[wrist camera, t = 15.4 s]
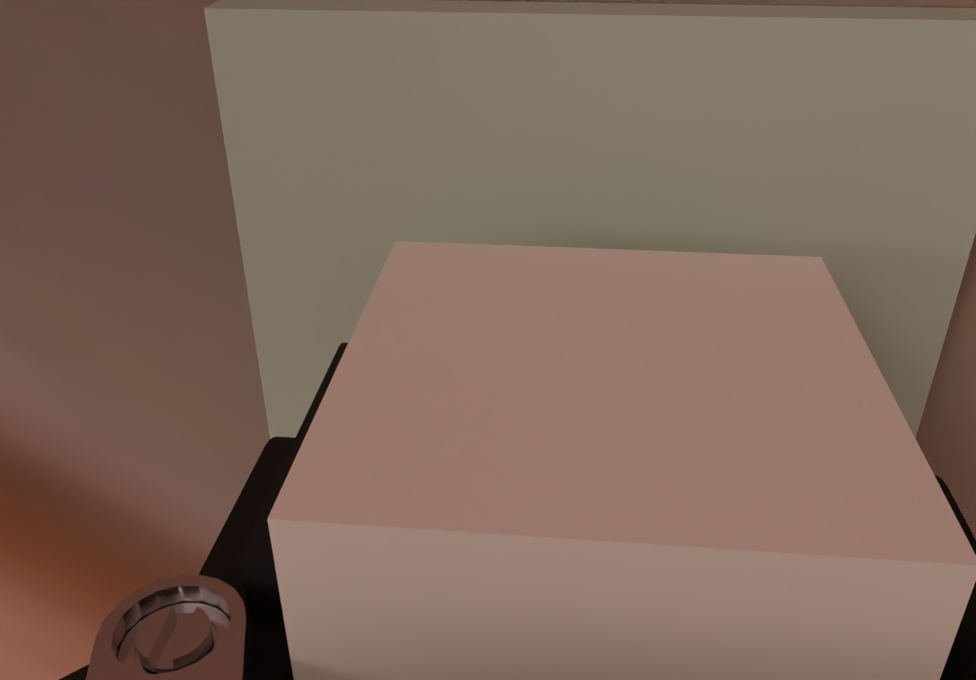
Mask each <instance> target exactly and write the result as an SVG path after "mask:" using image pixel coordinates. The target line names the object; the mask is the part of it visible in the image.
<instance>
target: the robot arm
mask: <svg viewBox="0 0 976 680" xmlns="http://www.w3.org/2000/svg"><path fill="white" fill-rule="evenodd" d="M347 345H348V343H345V342H344V343H341V344H340V346H339V347H338V349H337V351H336V353H335V356H334V358H333V360H332V362H331V364H330V366H329V368H328V370H327V372H326V374H325V377H324V379H323V381H322V383H321V385H320V387H319V389H318V391H317V393H316V396H315V398H314V400H313V402H312V404H311V406H310V408H309V410H308V412H307V414H306V417H305V419H304V421H303V423H302V425H301V427H300V429H299V431H298V433H297V436H296V438H294V437H277V436H275V437H273V438H271V439H270V440H269V441H268V443H267V444H266V446H265V447H264V449H263V451H262V453H261V455H260V457H259V459H258V461H257V463H256V465H255V467H254V469H253V471H252V472H251V474H250V476H249V478H248V480H247V482H246V484H245V486H244V488H243V490H242V492H241V494H240V496H239V498H238V500H237V502H236V503H235V505H234V507H233V509H232V511H231V513H230V515H229V517H228V519H227V521H226V523H225V525H224V527H223V529H222V531H221V532H220V534H219V536H218V538H217V540H216V542H215V544H214V546H213V548H212V550H211V552H210V554H209V556H208V558H207V560H206V561H205V563H204V565H203V567H202V569H201V571H200V573H199V575H179V576H175V577H171V578H167V579H162V580H158V581H156V582H153V583H151V584H149V585H147V586H145V587H142V588H140V589H138V590H136V591H135V592H133V593H132V594H130V595H129V596H128V597H126V598H125V599H123V600H122V601H121V602H119V603H118V604H117V605H116V606H115V607H114V609H113V610H112V611H111V612H110V613H109V614H108V615H107V617H106V618H105V619H104V620H103V622H102V625H101V627H100V629H99V631H98V634H97V636H96V639H95V643H94V647H93V651H92V655H91V659H90V663H89V665H87V666H85V667H83V668H81V669H79V670H77V671H75V672H73V673H71V674H69V675H67V676H65V677H63V678H61V679H59V680H294V678H293V672H292V666H291V660H290V654H289V648H288V642H287V636H286V630H285V624H284V618H283V611H282V605H281V599H280V593H279V587H278V581H277V575H276V569H275V563H274V557H273V551H272V545H271V539H270V533H269V527H268V521H267V519H268V516H269V514H270V512H271V510H272V508H273V506H274V503H275V501H276V499H277V497H278V495H279V492H280V490H281V488H282V486H283V484H284V482H285V479H286V477H287V475H288V473H289V471H290V469H291V466H292V464H293V462H294V460H295V458H296V456H297V453H298V451H299V449H300V447H301V445H302V442H303V440H304V438H305V436H306V434H307V432H308V429H309V427H310V425H311V423H312V421H313V419H314V416H315V414H316V412H317V410H318V408H319V406H320V403H321V401H322V399H323V397H324V395H325V393H326V390H327V388H328V386H329V384H330V382H331V379H332V377H333V375H334V373H335V371H336V369H337V366H338V364H339V362H340V360H341V358H342V356H343V353H344V351H345V349H346V347H347ZM934 476H935V478H936V479H937V481H938V483H939V485H940V487H941V489H942V491H943V493H944V495H945V497H946V499H947V501H948V503H949V505H950V506H951V508H952V510H953V512H954V514H955V516H956V518H957V520H958V522H959V524H960V526H961V528H962V530H963V532H964V533H965V535H966V537H967V539H968V541H969V543H970V545H971V547H972V549H973V551H974V553H975V555H976V540H975V538H974V536H973V534H972V532H971V530H970V528H969V527H968V525H967V523H966V521H965V519H964V517H963V515H962V513H961V511H960V509H959V508H958V506H957V504H956V502H955V500H954V498H953V496H952V494H951V492H950V491H949V489H948V487H947V485H946V484H945V483H944V481H943V480H942V479H941V478H940V477H938V476H936V475H934ZM940 680H976V582H975V584H974V587H973V590H972V593H971V595H970V598H969V601H968V604H967V606H966V609H965V612H964V614H963V617H962V620H961V623H960V625H959V628H958V631H957V634H956V636H955V639H954V642H953V644H952V647H951V650H950V653H949V655H948V658H947V661H946V664H945V666H944V669H943V672H942V674H941V677H940Z"/></svg>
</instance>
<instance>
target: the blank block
mask: <svg viewBox="0 0 976 680" xmlns="http://www.w3.org/2000/svg"><path fill="white" fill-rule="evenodd" d="M267 521H268V527H269V533H270V539H271V545H272V551H273V557H274V563H275V569H276V575H277V581H278V587H279V593H280V599H281V605H282V611H283V618H284V624H285V630H286V636H287V642H288V648H289V654H290V660H291V666H292V672H293V678H294V680H940V677H941V674H942V672H943V669H944V666H945V664H946V661H947V658H948V655H949V653H950V650H951V647H952V644H953V642H954V639H955V636H956V634H957V631H958V628H959V625H960V623H961V620H962V617H963V614H964V612H965V609H966V606H967V604H968V601H969V598H970V595H971V593H972V590H973V587H974V584H975V582H976V555H975V553H974V551H973V549H972V547H971V545H970V543H969V541H968V539H967V537H966V535H965V533H964V532H963V530H962V528H961V526H960V524H959V522H958V520H957V518H956V516H955V514H954V512H953V510H952V508H951V506H950V505H949V503H948V501H947V499H946V497H945V495H944V493H943V491H942V489H941V487H940V485H939V483H938V481H937V479H936V478H935V476H934V474H933V472H932V470H931V468H930V466H929V464H928V462H927V460H926V458H925V456H924V454H923V452H922V451H921V449H920V447H919V445H918V443H917V441H916V439H915V437H914V435H913V433H912V431H911V429H910V427H909V425H908V423H907V422H906V420H905V418H904V416H903V414H902V412H901V410H900V408H899V406H898V404H897V402H896V400H895V398H894V396H893V395H892V393H891V391H890V389H889V387H888V385H887V383H886V381H885V379H884V377H883V375H882V373H881V371H880V369H879V368H878V366H877V364H876V362H875V360H874V358H873V356H872V354H871V352H870V350H869V348H868V346H867V344H866V342H865V341H864V339H863V337H862V335H861V333H860V331H859V329H858V327H857V325H856V323H855V321H854V319H853V317H852V315H851V314H850V312H849V310H848V308H847V306H846V304H845V302H844V300H843V298H842V296H841V294H840V292H839V290H838V288H837V287H836V285H835V283H834V281H833V279H832V277H831V275H830V273H829V271H828V269H827V267H826V265H825V263H824V261H823V260H822V258H821V257H811V256H784V255H757V254H731V253H704V252H677V251H651V250H624V249H597V248H571V247H544V246H518V245H491V244H464V243H438V242H411V241H395V243H394V245H393V247H392V249H391V251H390V253H389V256H388V258H387V260H386V262H385V264H384V266H383V269H382V271H381V273H380V275H379V277H378V279H377V282H376V284H375V286H374V288H373V290H372V293H371V295H370V297H369V299H368V301H367V303H366V306H365V308H364V310H363V312H362V314H361V316H360V319H359V321H358V323H357V325H356V327H355V329H354V332H353V334H352V336H351V338H350V340H349V343H348V345H347V347H346V349H345V351H344V353H343V356H342V358H341V360H340V362H339V364H338V366H337V369H336V371H335V373H334V375H333V377H332V379H331V382H330V384H329V386H328V388H327V390H326V393H325V395H324V397H323V399H322V401H321V403H320V406H319V408H318V410H317V412H316V414H315V416H314V419H313V421H312V423H311V425H310V427H309V429H308V432H307V434H306V436H305V438H304V440H303V442H302V445H301V447H300V449H299V451H298V453H297V456H296V458H295V460H294V462H293V464H292V466H291V469H290V471H289V473H288V475H287V477H286V479H285V482H284V484H283V486H282V488H281V490H280V492H279V495H278V497H277V499H276V501H275V503H274V506H273V508H272V510H271V512H270V514H269V516H268V519H267Z"/></svg>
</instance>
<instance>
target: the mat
mask: <svg viewBox="0 0 976 680" xmlns="http://www.w3.org/2000/svg"><path fill="white" fill-rule="evenodd" d="M204 13H205V20H206V26H207V33H208V39H209V46H210V52H211V59H212V65H213V72H214V78H215V85H216V91H217V98H218V105H219V111H220V118H221V124H222V131H223V137H224V144H225V150H226V157H227V163H228V170H229V176H230V183H231V189H232V196H233V202H234V209H235V215H236V222H237V228H238V235H239V241H240V248H241V254H242V261H243V267H244V274H245V280H246V287H247V293H248V300H249V306H250V313H251V319H252V326H253V332H254V339H255V345H256V352H257V358H258V365H259V371H260V378H261V384H262V391H263V397H264V404H265V410H266V417H267V423H268V430H269V436H270V439H271V438H273V437H275V436H277V437H294V438H296V436H297V433H298V431H299V429H300V427H301V425H302V423H303V421H304V419H305V417H306V414H307V412H308V410H309V408H310V406H311V404H312V402H313V400H314V398H315V396H316V393H317V391H318V389H319V387H320V385H321V383H322V381H323V379H324V377H325V374H326V372H327V370H328V368H329V366H330V364H331V362H332V360H333V358H334V356H335V353H336V351H337V349H338V347H339V346H340V344H341V343H344V342H345V343H349V340H350V338H351V336H352V334H353V332H354V329H355V327H356V325H357V323H358V321H359V319H360V316H361V314H362V312H363V310H364V308H365V306H366V303H367V301H368V299H369V297H370V295H371V293H372V290H373V288H374V286H375V284H376V282H377V279H378V277H379V275H380V273H381V271H382V269H383V266H384V264H385V262H386V260H387V258H388V256H389V253H390V251H391V249H392V247H393V245H394V243H395V241H411V242H438V243H464V244H491V245H518V246H544V247H571V248H597V249H624V250H651V251H677V252H704V253H731V254H757V255H784V256H811V257H821V258H822V260H823V261H824V263H825V265H826V267H827V269H828V271H829V273H830V275H831V277H832V279H833V281H834V283H835V285H836V287H837V288H838V290H839V292H840V294H841V296H842V298H843V300H844V302H845V304H846V306H847V308H848V310H849V312H850V314H851V315H852V317H853V319H854V321H855V323H856V325H857V327H858V329H859V331H860V333H861V335H862V337H863V339H864V341H865V342H866V344H867V346H868V348H869V350H870V352H871V354H872V356H873V358H874V360H875V362H876V364H877V366H878V368H879V369H880V371H881V373H882V375H883V377H884V379H885V381H886V383H887V385H888V387H889V389H890V391H891V393H892V395H893V396H894V398H895V400H896V402H897V404H898V406H899V408H900V410H901V412H902V414H903V416H904V418H905V420H906V422H907V423H908V425H909V427H910V429H911V431H912V433H913V435H914V437H915V439H916V436H917V432H918V429H919V425H920V422H921V419H922V415H923V412H924V408H925V405H926V401H927V398H928V395H929V391H930V388H931V384H932V381H933V378H934V374H935V371H936V367H937V364H938V360H939V357H940V354H941V350H942V347H943V343H944V340H945V337H946V333H947V330H948V326H949V323H950V319H951V316H952V313H953V309H954V306H955V302H956V299H957V296H958V292H959V289H960V285H961V282H962V278H963V275H964V272H965V268H966V265H967V261H968V258H969V255H970V251H971V248H972V244H973V241H974V237H975V234H976V8H939V7H870V6H801V5H732V4H663V3H594V2H525V1H456V0H219V1H217V2H215V3H213V4H211V5H209V6H208V7H206V8H204Z"/></svg>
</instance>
